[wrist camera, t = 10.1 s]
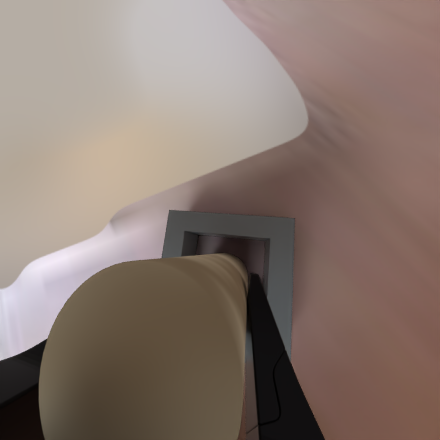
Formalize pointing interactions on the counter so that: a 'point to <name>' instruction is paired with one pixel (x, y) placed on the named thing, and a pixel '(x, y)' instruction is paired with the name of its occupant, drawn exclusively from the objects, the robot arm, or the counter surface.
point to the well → (253, 230)
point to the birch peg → (149, 353)
